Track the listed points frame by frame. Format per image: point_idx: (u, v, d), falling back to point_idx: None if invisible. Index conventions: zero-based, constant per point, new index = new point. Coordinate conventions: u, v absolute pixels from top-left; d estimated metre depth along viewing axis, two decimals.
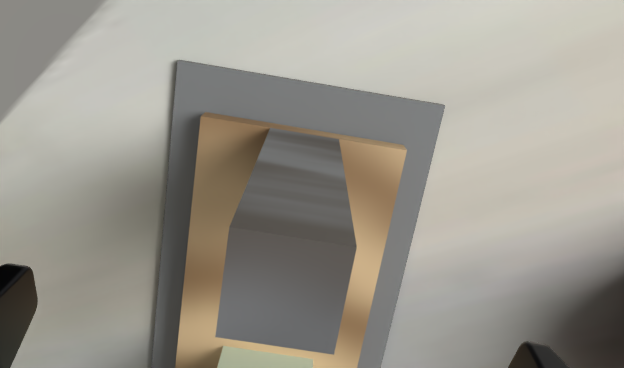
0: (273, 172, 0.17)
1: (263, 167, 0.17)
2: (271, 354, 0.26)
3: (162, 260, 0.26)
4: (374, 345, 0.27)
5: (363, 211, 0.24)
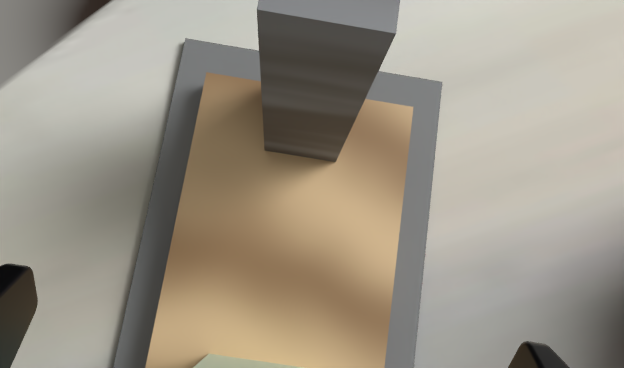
0: None
1: None
2: (271, 364, 0.20)
3: (141, 251, 0.22)
4: (399, 366, 0.22)
5: (375, 171, 0.22)
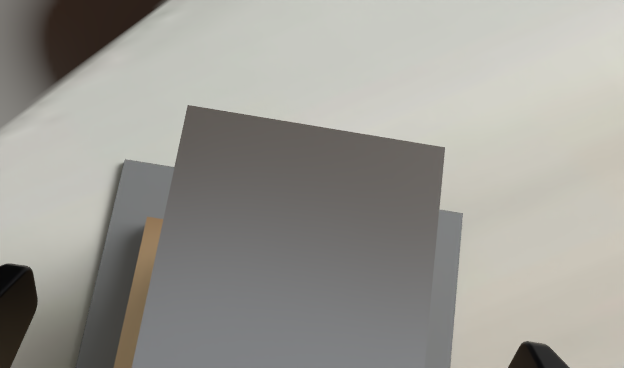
0: None
1: None
2: None
3: None
4: None
5: None
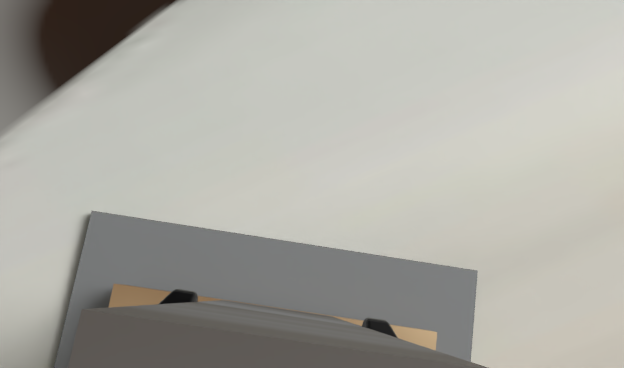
0: (228, 308, 0.08)
1: (208, 304, 0.09)
2: None
3: None
4: None
5: None
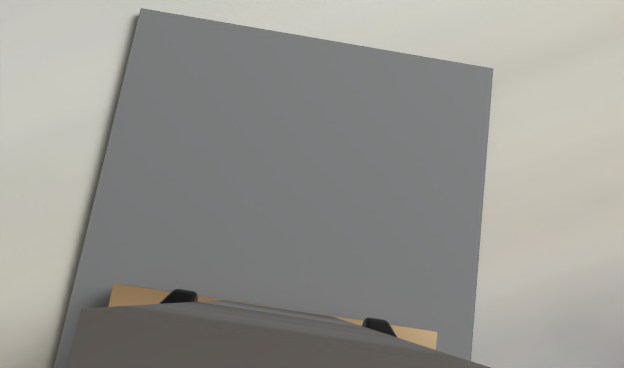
0: (228, 307, 0.08)
1: (207, 304, 0.09)
2: None
3: (71, 309, 0.15)
4: None
5: None
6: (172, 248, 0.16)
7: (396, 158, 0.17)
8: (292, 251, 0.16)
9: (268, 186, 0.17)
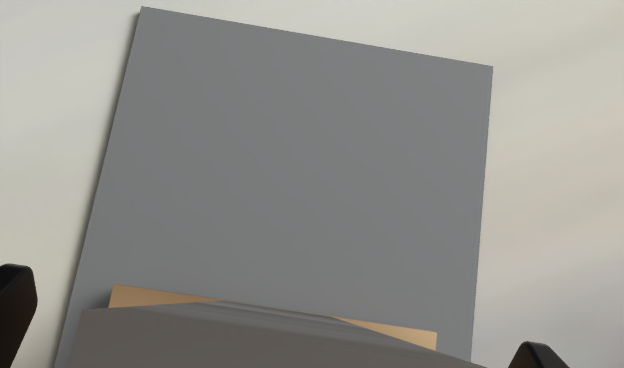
0: (229, 308, 0.08)
1: (207, 305, 0.09)
2: None
3: (72, 306, 0.15)
4: None
5: None
6: (173, 245, 0.16)
7: (396, 155, 0.17)
8: (292, 248, 0.16)
9: (269, 183, 0.17)
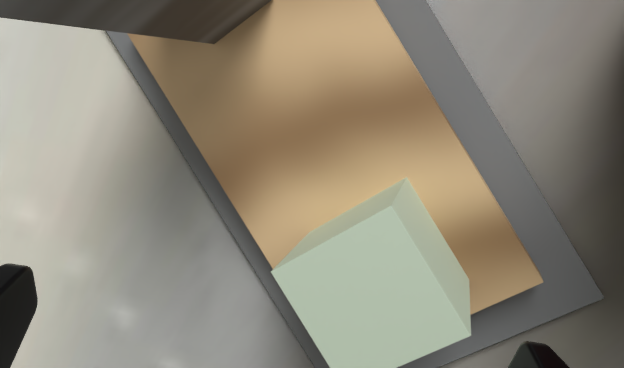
0: None
1: None
2: (360, 205, 0.20)
3: (126, 60, 0.23)
4: None
5: None
6: None
7: None
8: None
9: None
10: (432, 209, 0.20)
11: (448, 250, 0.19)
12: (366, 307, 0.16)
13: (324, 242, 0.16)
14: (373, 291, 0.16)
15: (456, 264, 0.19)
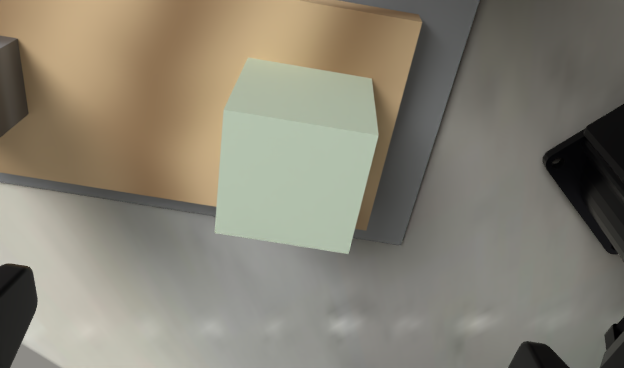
0: None
1: None
2: None
3: (7, 181, 0.24)
4: None
5: None
6: None
7: None
8: None
9: None
10: (291, 59, 0.19)
11: (331, 76, 0.19)
12: (295, 191, 0.16)
13: (219, 179, 0.16)
14: (286, 176, 0.16)
15: (346, 80, 0.18)
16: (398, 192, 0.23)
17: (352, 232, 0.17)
